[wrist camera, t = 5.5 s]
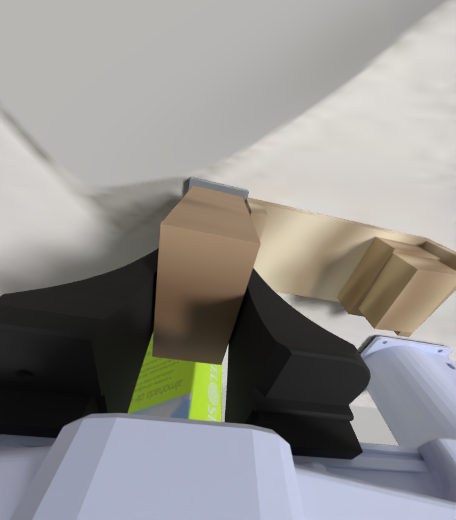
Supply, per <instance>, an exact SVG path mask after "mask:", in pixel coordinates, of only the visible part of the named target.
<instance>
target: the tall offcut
mask: <svg viewBox="0 0 456 520" xmlns="http://www.w3.org/2000/svg"><path fill="white" fill-rule="evenodd" d="M260 245H261V243H260V240H259V238H258V235H257V232H256V230H255V227H254V225H253V222H252V220H251V217H250V214H249V212H248V209H247V207H246V204H245V202H244V199H243V197H242V196H238V195H233V194H229V193H225V192H220V191H216V190H211V189H207V188H202V187H198V186H194V185H193V187H192V188H191V189H190V190H189V191H188V192H187V193H186V195H185V196H184V197H183V198H182V199H181V200H180V202H179V203H178V204H177V205H176V206H175V207H174V208H173V210H172V211H171V212H170V213H169V214H168V215H167V217H166V218H165V219H164V220H163V221H162V222H161V223H160V238H159V254H158V270H157V286H156V302H155V317H154V333H153V349H152V357H158V358H166V359H175V360H183V361H191V362H199V363H207V364H215V365H222V362H223V358H224V355H225V352H226V349H227V346H228V343H229V340H230V337H231V334H232V331H233V328H234V325H235V322H236V319H237V315H238V312H239V309H240V306H241V303H242V300H243V297H244V294H245V291H246V288H247V285H248V282H249V279H250V276H251V273H252V269H253V266H254V263H255V260H256V257H257V254H258V251H259V248H260Z"/></svg>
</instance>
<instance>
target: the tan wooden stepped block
mask: <svg viewBox="0 0 456 520" xmlns="http://www.w3.org/2000/svg"><path fill="white" fill-rule="evenodd" d="M246 207H247V209H248V212H249V214H250V217H251V220H252V222H253V225H254V227H255V230H256V232H257V235H258V238H259V240H260V243H261V245H260V248H259V251H258V254H257V257H256V260H255V263H254V266H253V268H254V269H255V270H256V271H257V273H258V274H259V275H260V276H261V278H262V279H263V280H264V281H265V282H266V283H267V284H268V285H269V286H270V287H271V288H272V290H273V291H276V292H282V293H287V294H293V295H299V296H305V297H311V298H316V299H322V300H328V301H334V302H339V303H340V301H339V300H338V298H337V296H338V295H339V293H340V292H341V290H342V288H343V287H344V285H345V284H346V282H347V281H348V279H349V278H350V276H351V274H352V273H353V271H354V270H355V268H356V267H357V265H358V263H359V262H360V260H361V259H362V257H363V256H364V254H365V253H366V251H367V249H368V248H369V246H370V245H371V243H372V242H373V240H374V238H375V237H380V238H384V239H389V240H394V241H398V242H403V243H407V244H412V245H416V246H418V247H420V248H422V249H424V250H426V251H428V252H429V253H431V254H433V255H435V256H437V257H439V258H440V260H439V262H441V263H443V264H445V265H446V266H448V267H450V268H452V269H453V270H455V271H456V252H455V251H453V250H451V249H449V248H446V247H444V246H442V245H440V244H438V243H436V242H434V241H432V240H430V239H428V238H424V237H420V236H415V235H411V234H406V233H402V232H397V231H393V230H389V229H384V228H380V227H375V226H371V225H367V224H362V223H358V222H353V221H349V220H345V219H340V218H336V217H331V216H327V215H323V214H318V213H314V212H309V211H305V210H300V209H296V208H292V207H287V206H283V205H278V204H274V203H270V202H265V201H261V200H256V199H252V198H248V197H247V201H246ZM455 290H456V286H455V287H454V288H453V289H452V290H451V291H450V292H449V294H448V295H447V296H446V297H445V298H444V299H443V300H442V301H441V302H440V304H439V305H438V306H437V307H436V308H435V309H434V310H433V311H432V312H431V314H432V313H433V312H434V311H435V310H436V309H437V308H438V307H439V306H440V305H441V304H442V303H443V302H444V301H445V300H446V299H447V298H448V297H449V296H450V295H451V294H452V293H453V292H454V291H455ZM431 314H430V315H431ZM430 315H429V316H430ZM429 316H428V317H429ZM428 317H427V318H428ZM427 318H426V319H427ZM426 319H425V320H426ZM425 320H424V321H425ZM424 321H423V322H424ZM423 322H422V323H423ZM394 332H395V333H396V334H397V335H399V336H405V337H409V336H410V335H411V334H412V333H411V332H401V331H394Z"/></svg>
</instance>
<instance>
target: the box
mask: <svg viewBox="0 0 456 520" xmlns="http://www.w3.org/2000/svg"><path fill="white" fill-rule="evenodd" d="M153 333H154V331H153ZM152 349H153V334H152V337H151V340H150V343H149V346H148V349H147V352H146V355H145V358H144V361H143V364H142V368H141V371H140V374H139V377H138V380H137V384H136V387H135V390H134V393H133V397H132V400H131V403H130V407H129V410H128V413H127V414H137V415H149V416H160V417H171V418H182V419H193V420H205V421H216V422H222V421H221V420H222V419H221V418H222V365H215V364H207V363H199V362H191V361H183V360H175V359H166V358H158V357H152Z"/></svg>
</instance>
